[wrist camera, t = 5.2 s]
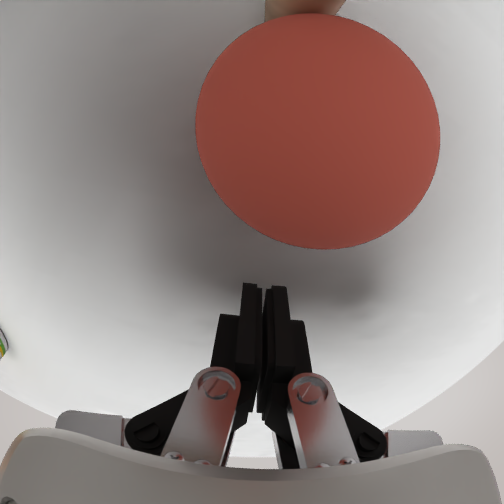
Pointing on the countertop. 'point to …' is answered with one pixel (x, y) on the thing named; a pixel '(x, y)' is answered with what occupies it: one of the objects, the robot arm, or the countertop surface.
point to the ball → (317, 131)
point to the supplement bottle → (2, 345)
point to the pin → (300, 7)
